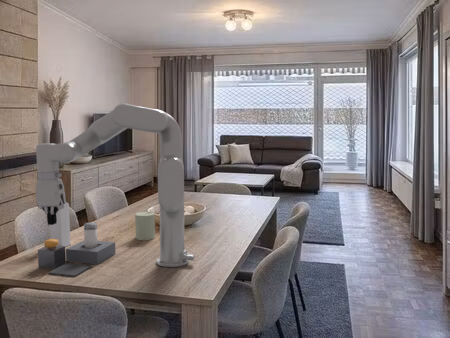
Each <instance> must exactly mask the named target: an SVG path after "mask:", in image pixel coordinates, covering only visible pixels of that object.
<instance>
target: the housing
mask: <svg viewBox="0 0 450 338" xmlns="http://www.w3.org/2000/svg"><path fill="white" fill-rule="evenodd" d="M97 244H98V247H96V248H85V241H84V240H82V241H80V242H78V243H76V244H73V245H72V246H71V245H70V246H68V248H65V256H66V263H69V262H70V263H77V264H80V263H81V264H88V265H100V264H101V263H103V262H105V261H106V260H108V259H109V258H112V257H113V256H115V255H116V253H117V252H116V241H115V242H114V241H104V240H97Z"/></svg>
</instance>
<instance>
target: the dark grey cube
mask: <svg viewBox="0 0 450 338" xmlns="http://www.w3.org/2000/svg"><path fill="white" fill-rule="evenodd" d="M37 258H38V259H37V260H38V261H37V262H38V269H47V270H54V269H56V268H58V267H60V266H62V265H64V264H66V263H67V261H66V247H65V246H56V247H54V249H50V248H47V247H45V246H43V247H42V248H39V249H37Z"/></svg>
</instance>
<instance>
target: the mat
mask: <svg viewBox="0 0 450 338" xmlns="http://www.w3.org/2000/svg"><path fill="white" fill-rule="evenodd" d="M92 267H93V266H92V265H91V264H88V265H87V264H80V263H69V262H66V264H64V265H62V266H60V267H58V268H56V269H52V270H51V271H49V272H48V275H53V276H61V277H62V276H64V277H71V278H72V277H73V278H76V277H78V276H79V275H81V274H83V273H84V272H87V271H88V270H89V269H91V268H92Z"/></svg>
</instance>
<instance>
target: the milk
mask: <svg viewBox="0 0 450 338" xmlns="http://www.w3.org/2000/svg"><path fill="white" fill-rule="evenodd" d="M58 207H59V206H58ZM56 218H57V223H56V224H53V225H49V237H50V238H49V239H58V246H65V248H66V247H70V246H71V225H70V203H69V202H67V201H66V203H65V204H64V209H60V210H59V211H58V212H57V213H56Z"/></svg>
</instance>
